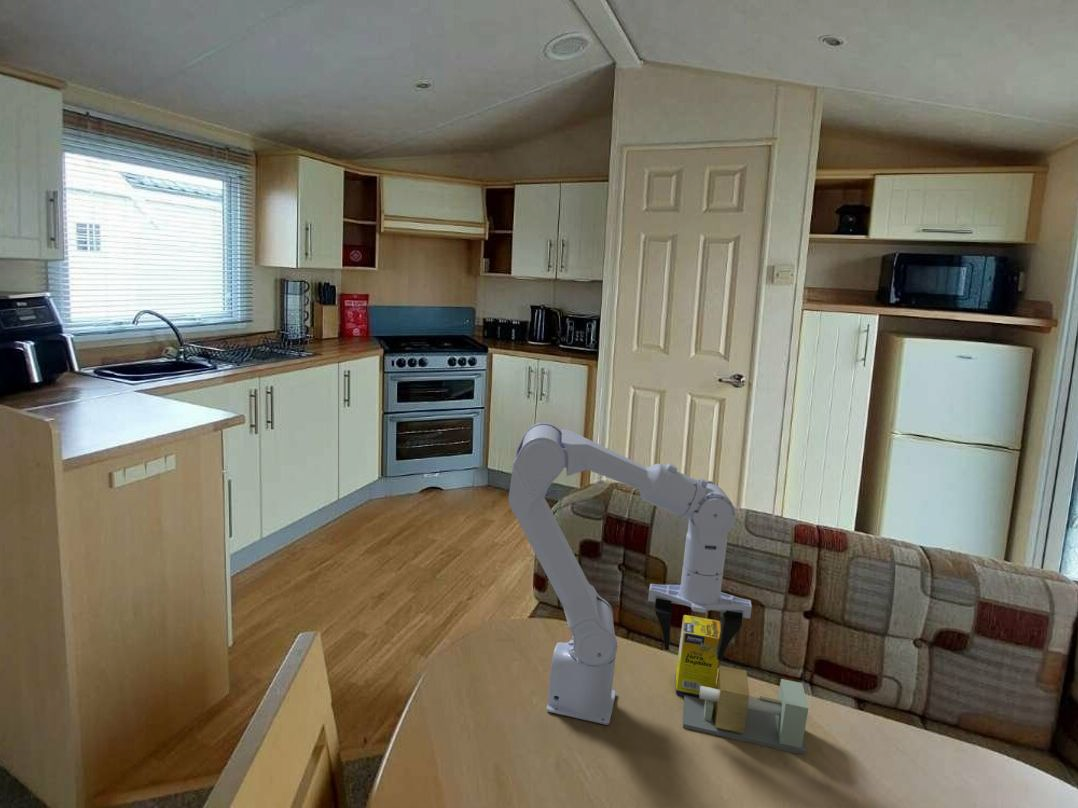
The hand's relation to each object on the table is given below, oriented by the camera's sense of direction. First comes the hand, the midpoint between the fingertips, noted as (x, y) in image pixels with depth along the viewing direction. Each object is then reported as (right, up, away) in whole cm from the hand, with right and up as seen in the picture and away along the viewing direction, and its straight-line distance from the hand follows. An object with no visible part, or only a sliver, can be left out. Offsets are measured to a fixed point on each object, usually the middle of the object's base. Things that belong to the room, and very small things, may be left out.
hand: (692, 651), depth 97 cm
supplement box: (+2, -9, +8) cm, 13 cm away
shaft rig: (+7, -11, 0) cm, 13 cm away
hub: (+5, -11, +1) cm, 12 cm away
